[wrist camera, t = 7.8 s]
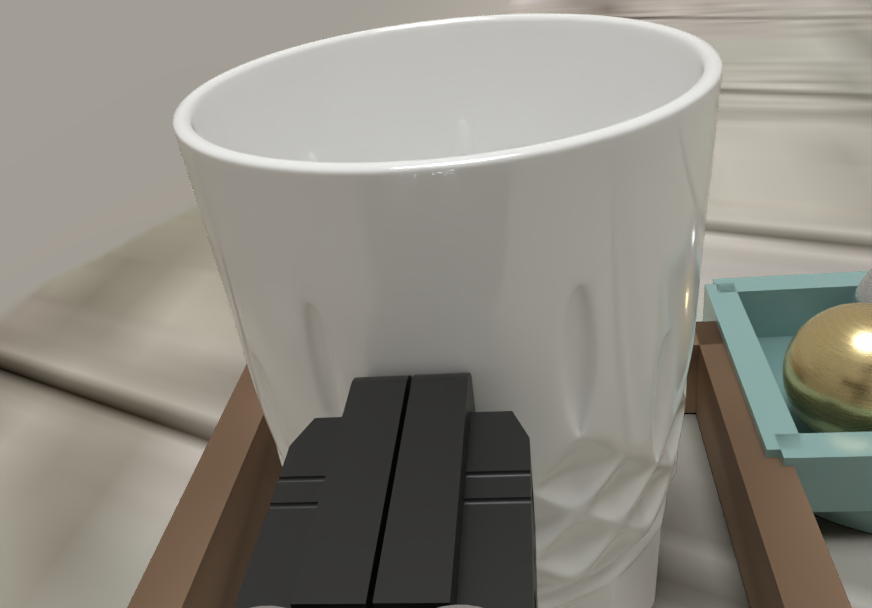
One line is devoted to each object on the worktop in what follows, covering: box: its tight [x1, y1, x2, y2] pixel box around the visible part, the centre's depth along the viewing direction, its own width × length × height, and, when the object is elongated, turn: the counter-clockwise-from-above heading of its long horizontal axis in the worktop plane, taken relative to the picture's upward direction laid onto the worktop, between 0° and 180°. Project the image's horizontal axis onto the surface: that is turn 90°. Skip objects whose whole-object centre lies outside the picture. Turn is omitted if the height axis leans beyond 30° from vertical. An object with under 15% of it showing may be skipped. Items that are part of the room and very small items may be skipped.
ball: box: [782, 303, 872, 433], centre depth 17 cm, size 3×3×3 cm
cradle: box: [127, 321, 852, 608], centre depth 17 cm, size 12×10×2 cm
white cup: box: [173, 14, 723, 608], centre depth 15 cm, size 8×8×10 cm
